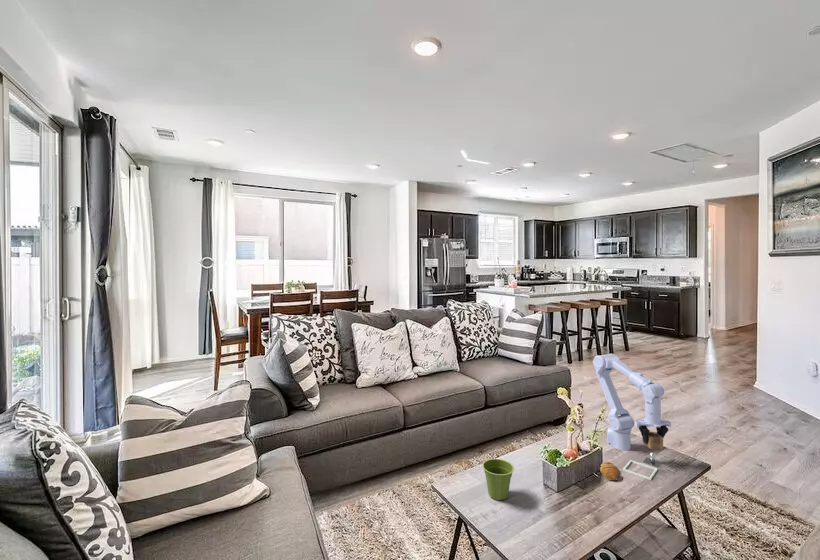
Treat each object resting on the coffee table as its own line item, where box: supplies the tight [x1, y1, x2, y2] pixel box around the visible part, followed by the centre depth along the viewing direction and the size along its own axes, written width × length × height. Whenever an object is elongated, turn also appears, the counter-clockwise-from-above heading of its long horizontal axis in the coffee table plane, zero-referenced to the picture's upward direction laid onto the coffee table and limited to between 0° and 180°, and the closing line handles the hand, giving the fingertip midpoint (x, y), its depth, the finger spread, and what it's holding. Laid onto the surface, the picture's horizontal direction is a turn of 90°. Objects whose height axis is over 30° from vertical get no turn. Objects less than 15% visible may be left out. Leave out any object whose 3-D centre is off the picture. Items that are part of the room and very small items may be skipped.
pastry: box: [599, 461, 620, 481], centre depth 157 cm, size 9×7×4 cm
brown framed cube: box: [642, 431, 664, 450], centre depth 164 cm, size 5×5×5 cm
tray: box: [622, 459, 658, 481], centre depth 159 cm, size 10×10×2 cm
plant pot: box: [481, 458, 515, 501], centre depth 146 cm, size 12×12×11 cm
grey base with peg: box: [642, 451, 663, 468], centre depth 164 cm, size 6×6×5 cm
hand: (652, 442), depth 164 cm, fingers closed on brown framed cube, 5 cm apart
